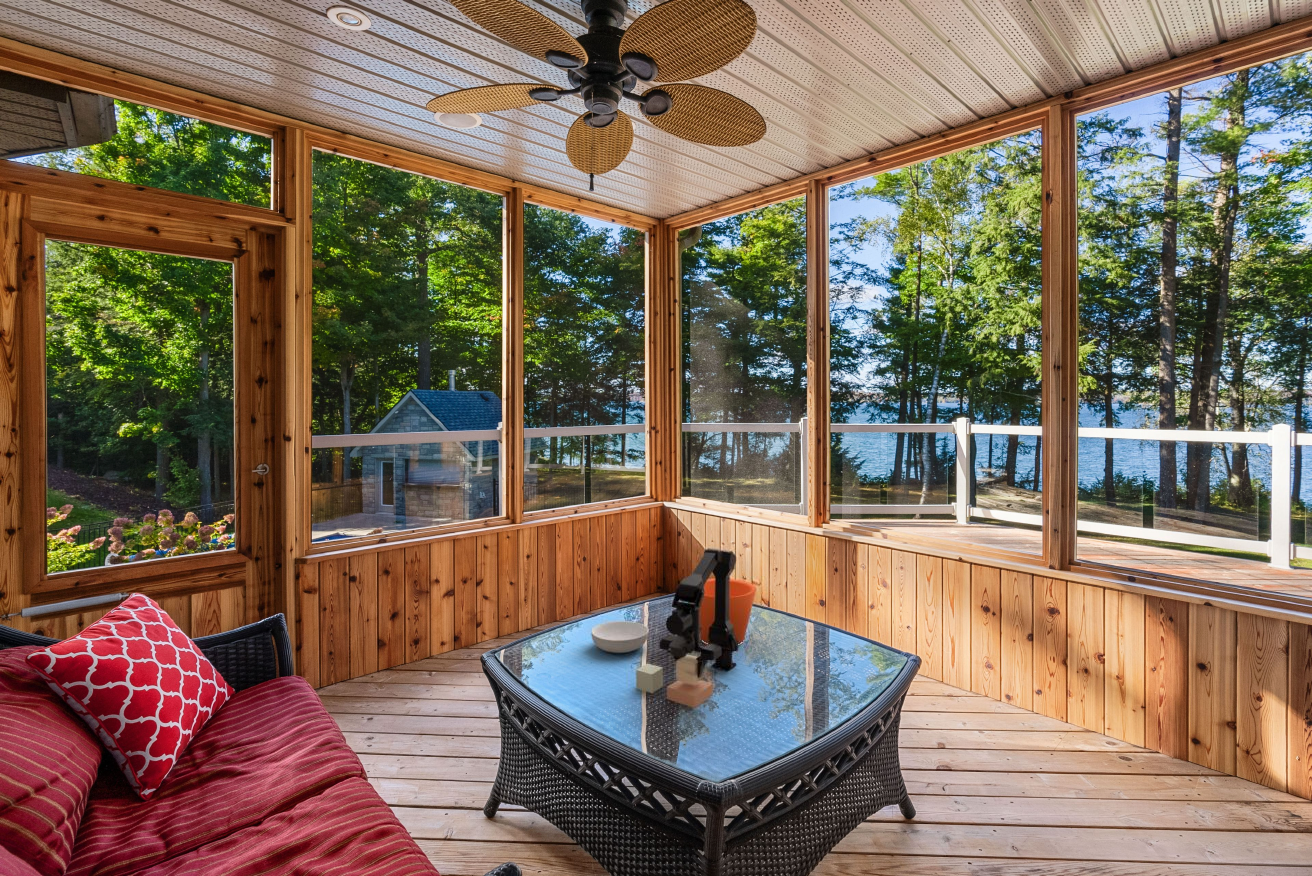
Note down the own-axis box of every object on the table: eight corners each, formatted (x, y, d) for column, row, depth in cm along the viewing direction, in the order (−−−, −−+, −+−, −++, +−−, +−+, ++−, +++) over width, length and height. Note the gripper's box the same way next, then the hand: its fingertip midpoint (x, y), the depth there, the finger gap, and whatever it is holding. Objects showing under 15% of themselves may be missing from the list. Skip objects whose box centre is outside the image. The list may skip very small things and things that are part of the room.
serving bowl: (659, 644, 238) (659, 626, 238) (626, 664, 221) (626, 644, 220) (613, 634, 249) (613, 616, 249) (579, 651, 232) (579, 632, 231)
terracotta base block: (685, 688, 203) (685, 675, 203) (712, 696, 197) (712, 683, 197) (666, 699, 195) (666, 686, 195) (694, 709, 189) (694, 695, 189)
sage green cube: (647, 681, 207) (647, 663, 206) (662, 686, 203) (662, 667, 203) (636, 688, 202) (636, 669, 201) (652, 693, 198) (652, 674, 198)
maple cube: (686, 673, 200) (686, 654, 199) (703, 677, 196) (703, 658, 196) (676, 680, 195) (676, 660, 194) (693, 684, 191) (693, 665, 191)
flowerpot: (691, 626, 258) (691, 577, 257) (755, 629, 254) (755, 579, 253) (686, 650, 233) (686, 595, 232) (756, 653, 229) (756, 598, 228)
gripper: (649, 626, 193) (649, 677, 194) (704, 638, 183) (704, 692, 184) (669, 615, 202) (669, 664, 203) (722, 627, 192) (722, 678, 193)
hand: (690, 675), depth 195 cm, fingers closed on maple cube, 6 cm apart
